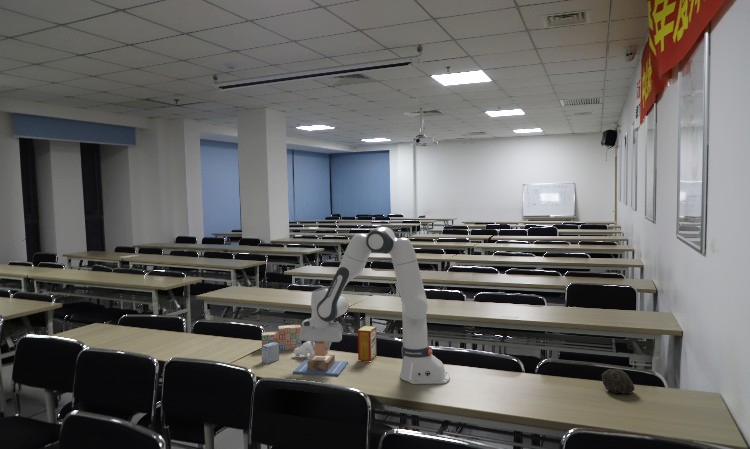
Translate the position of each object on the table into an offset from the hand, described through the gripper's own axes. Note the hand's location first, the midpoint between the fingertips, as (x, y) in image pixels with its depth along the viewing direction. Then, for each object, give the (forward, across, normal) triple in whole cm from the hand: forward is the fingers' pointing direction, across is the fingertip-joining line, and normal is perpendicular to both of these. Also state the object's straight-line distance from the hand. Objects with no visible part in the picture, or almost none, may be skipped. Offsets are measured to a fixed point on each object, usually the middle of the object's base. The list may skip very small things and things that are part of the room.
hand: (321, 350), depth 232 cm
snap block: (+2, 0, 0) cm, 2 cm away
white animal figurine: (+9, +14, -16) cm, 23 cm away
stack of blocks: (+9, +32, -28) cm, 43 cm away
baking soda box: (+9, -19, -18) cm, 28 cm away
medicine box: (+9, +29, -7) cm, 31 cm away
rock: (+9, -130, +10) cm, 131 cm away
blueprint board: (+9, 0, 0) cm, 9 cm away
